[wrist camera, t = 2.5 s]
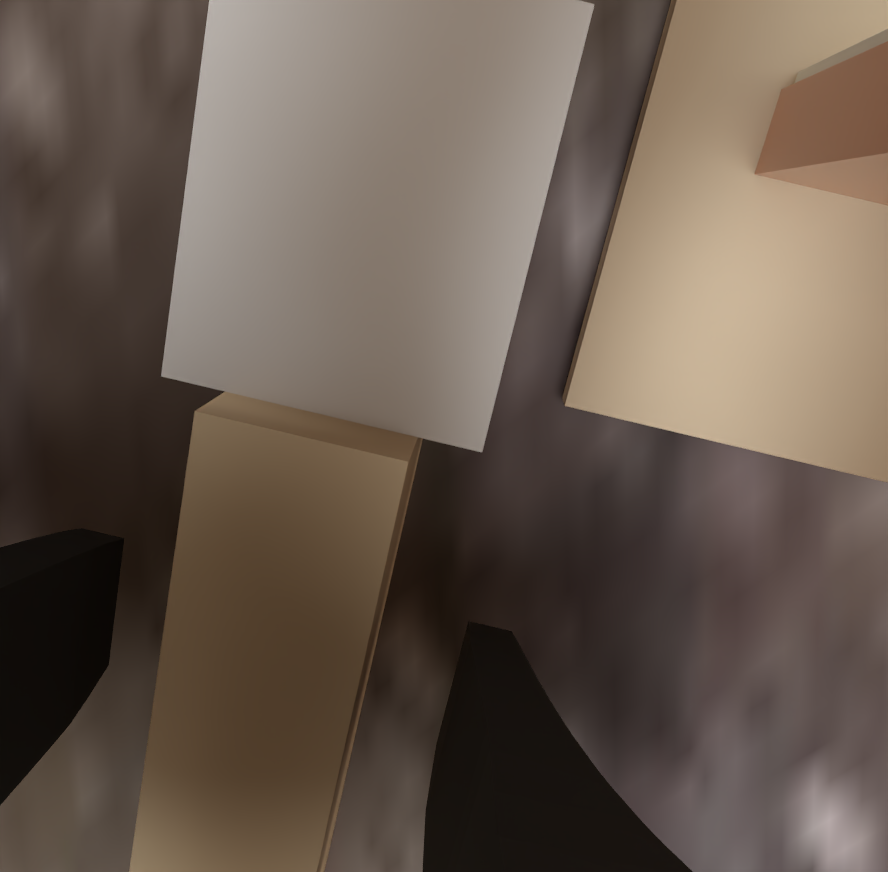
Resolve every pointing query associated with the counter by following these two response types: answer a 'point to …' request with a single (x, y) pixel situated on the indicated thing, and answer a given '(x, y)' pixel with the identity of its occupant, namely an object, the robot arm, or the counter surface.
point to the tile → (834, 125)
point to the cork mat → (740, 255)
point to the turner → (328, 374)
